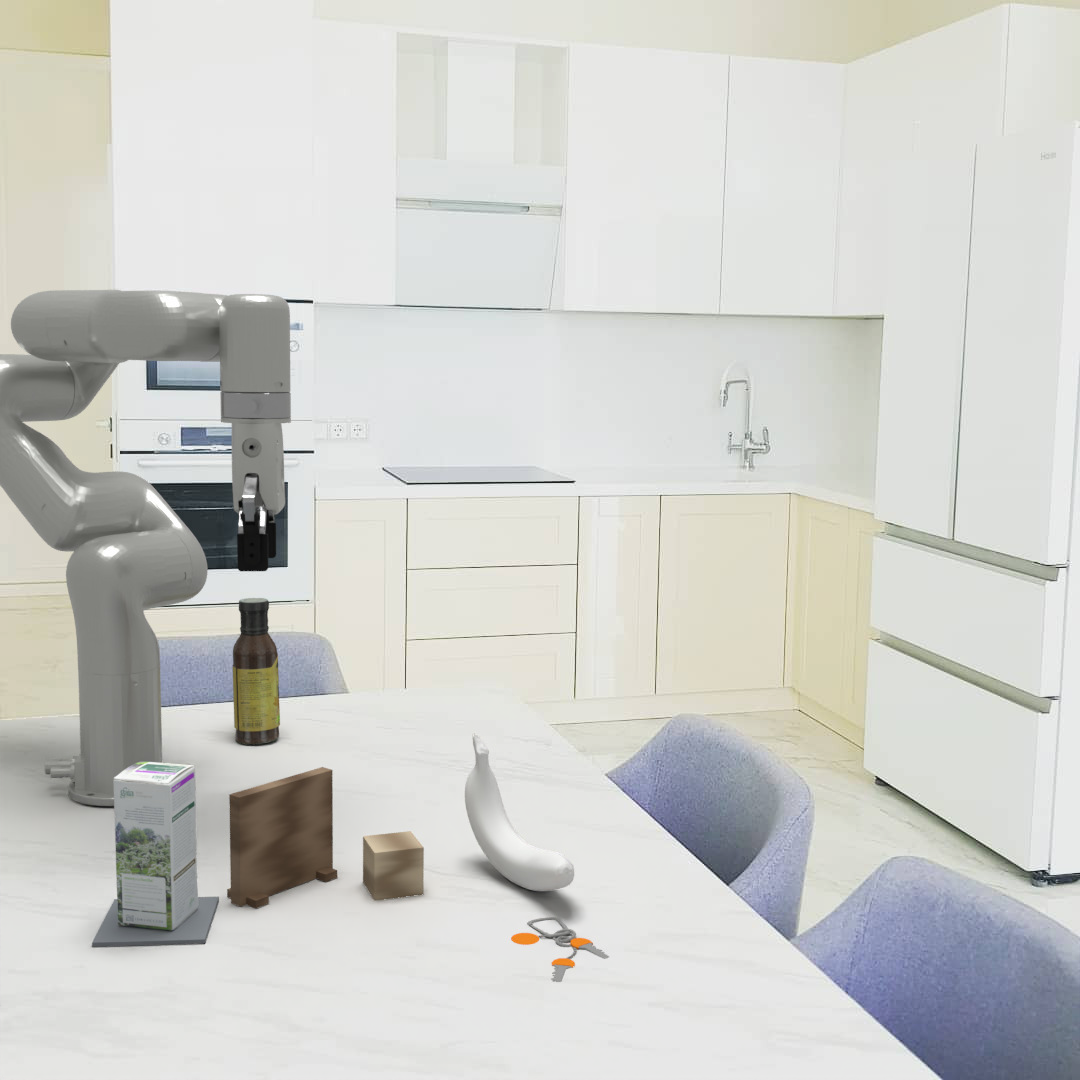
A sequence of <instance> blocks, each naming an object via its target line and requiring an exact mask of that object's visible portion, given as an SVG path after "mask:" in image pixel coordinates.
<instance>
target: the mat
mask: <svg viewBox="0 0 1080 1080" xmlns="http://www.w3.org/2000/svg"><path fill="white" fill-rule="evenodd" d="M219 902H220V896H198V909H197V910H196V911H195V912H194V913H193V914H191V915H190V916H189V917H188V918H187V919H186V920H185V921H184V922H183V923H182V924H180V925H179V926H178V927H177V928H175V929H174V930H162V929H152V928H142V927H133V926H123V925H118V912H117V909H118V907H117V898H114V899H113V902H112V903H111V905H110V907H109V908H108V911H107V913H106V915H105V917H104V918H103V921H102V922H101V925H100V926H99V929H98V930H97V931H96V934H95V936H94V938H93V940H92V942H91V947H92V948H99V947H101V948H102V947H133V946H161V945H162V946H164V945H165V946H167V945H168V946H169V945H171V946H172V945H198V944H199V945H200V944H201V945H202V944H203V945H204V943H205V944H206V942H207V939H208V935H209V933H210V929H211V927H212V923H213V920H214V917H215V915H216V912H217V908H218V905H219Z"/></svg>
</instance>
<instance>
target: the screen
mask: <svg viewBox="0 0 1080 1080" xmlns="http://www.w3.org/2000/svg"><path fill="white" fill-rule="evenodd" d="M228 795H229V798H228V799H229V804H228V805H229V860H230V861H229V862H230V864H229V865H230V868H229V870H230V871H229V872H230V888H227V889H226V893H227V896H226V897H227V898H229V899H230V903H231V904H233V905H235V906H238V907H241V908H242V907H244V906H248V907H252V908H254V909H259V908H261V907H264V906H267V905H270V897H271V896H273V895H277V894H279V893H281V892H284V891H287V890H289V889H292V888H294V887H298V886H300V885H302V884H305V883H308V882H310V881H313V880H316V879H317V880H320V881H322V882H325V883H327V882H330V881H333V880H335V879H337V878H338V869H335V868H334V866H333V865H334V862H333V861H334V849H333V848H334V843H333V842H334V841H333V839H334V838H333V837H334V836H333V835H334V834H333V831H334V828H333V827H334V826H333V825H334V824H333V817H334V816H333V814H334V813H333V812H334V811H333V809H334V807H333V769H330V768H327V767H324V766H322V767H317V768H314V769H312V770H307V771H304V772H300V773H297V774H294V775H291V776H288V777H287V776H286V777H283V778H280V779H278V780H277V779H276V780H274V781H270V782H267V783H263V784H260V785H256V786H253V787H250V788H246V789H242V790H240V791H239V790H238V791H237V792H233V793H230V794H228Z"/></svg>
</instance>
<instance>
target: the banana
mask: <svg viewBox="0 0 1080 1080" xmlns="http://www.w3.org/2000/svg"><path fill="white" fill-rule="evenodd" d="M472 745H473V750H474V755H475V756H474V757H475V764H474V767H473V768H472V769H471V770H470V772H469V774H468V776H467V778H466V781H465V787H464V802H465V809H466V814H467V818H468V821H469V824H470V828H471V831H472V833H473V835H474V837H475V839H476V842H477V844H478V846H479V847H480V850H482V852H483V853H484V855H485V857H486V858H487V860H488V861H489V862H490V863H491V865H492V866H493V868H495V869H496V870H497V871H498V872H499V873H500V874H501V875H502V876H503V877H504V878H506V879H507V880H509V881H510V882H511V883H514V884H515V885H517V886H519V887H522V888H525V889H526V890H530V891H534V892H549V891H554V890H561V889H564V888H566V887H568V886H570V885H571V884H572V882H573V881H574V878H575V868H574V864H573V863H572V861H571V860H570V859H569V858H568V857H566V856H565V855H564V854H562V853H561V852H558V851H555V850H548V849H545V848H544V849H543V848H539V847H537V846H534V845H532V844H530V843H529V842H528V841H526V840H524V839H523V838H522V837H521V836H520V834H519V832H518V831H516V829H515V827H514V826H513V825H512V824H513V823H512V822H511V821H510V819H509V816H508V815H507V812H506V809H505V806H504V802H503V798H502V796H501V791H500V788H499V785H498V781H497V778H496V775H495V773H494V771H493V770H492V768H491V766H490V763H489V754H490V750H489V748H488V746H487V745H486V743H485V742H484V741H483V739H482V738H481V736H479V735H478V734H476V733H473V734H472Z"/></svg>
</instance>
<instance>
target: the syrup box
mask: <svg viewBox="0 0 1080 1080" xmlns="http://www.w3.org/2000/svg"><path fill="white" fill-rule="evenodd" d="M195 768H196V767H195V765H193V764H181V763H180V764H179V763H170V762H169V763H168V762H162V763H158V762H144V761H141V762H138V763H136V764H133V765H132V766H130V767H128V768H126V769H125V770H123V771H122V772H121V773H120V774H118V775H117V776H116V777H114V780H113V785H114V806H113V808H114V834H115V835H114V836H115V839H114V842H115V843H114V844H115V869H116V870H115V872H116V873H115V874H116V899H117V907H118V909H117V912H118V925H123V926H133V927H142V928H152V929H162V930H174V929H175V928H177V927H178V926H179V925H180V924H182V923H183V922H184V921H185V920H186V919H187V918H188V917H189V916H190V915H191V914H193V913H194V912H195V911H196V910H197V909H198V897H199V893H198V891H199V890H198V889H199V888H198V867H197V865H198V864H197V809H196V808H197V798H196V797H197V796H196V793H197V792H196V788H197V787H196V784H197V783H196V769H195Z"/></svg>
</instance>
